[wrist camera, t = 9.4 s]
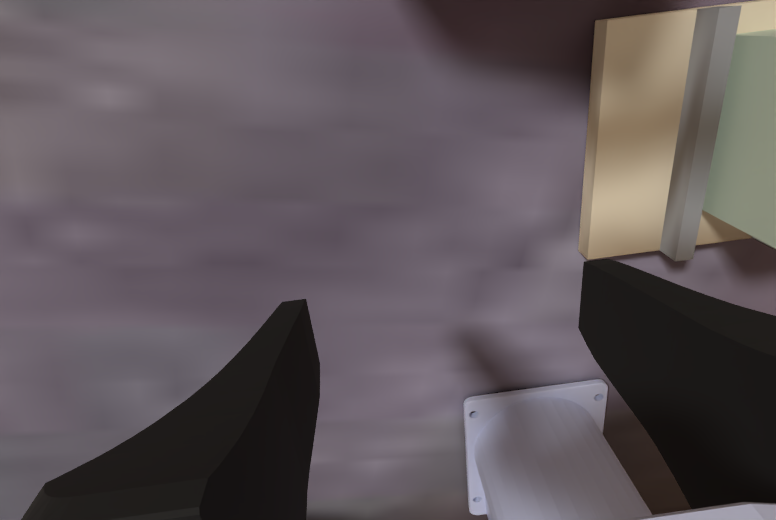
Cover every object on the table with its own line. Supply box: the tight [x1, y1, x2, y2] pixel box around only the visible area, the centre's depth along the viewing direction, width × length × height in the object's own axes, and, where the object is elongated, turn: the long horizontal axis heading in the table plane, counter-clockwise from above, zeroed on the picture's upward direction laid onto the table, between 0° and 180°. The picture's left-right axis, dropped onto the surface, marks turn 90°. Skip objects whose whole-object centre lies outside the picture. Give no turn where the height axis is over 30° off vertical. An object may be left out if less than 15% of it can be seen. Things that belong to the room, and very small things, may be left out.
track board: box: [578, 0, 776, 262], centre depth 20 cm, size 10×12×2 cm
